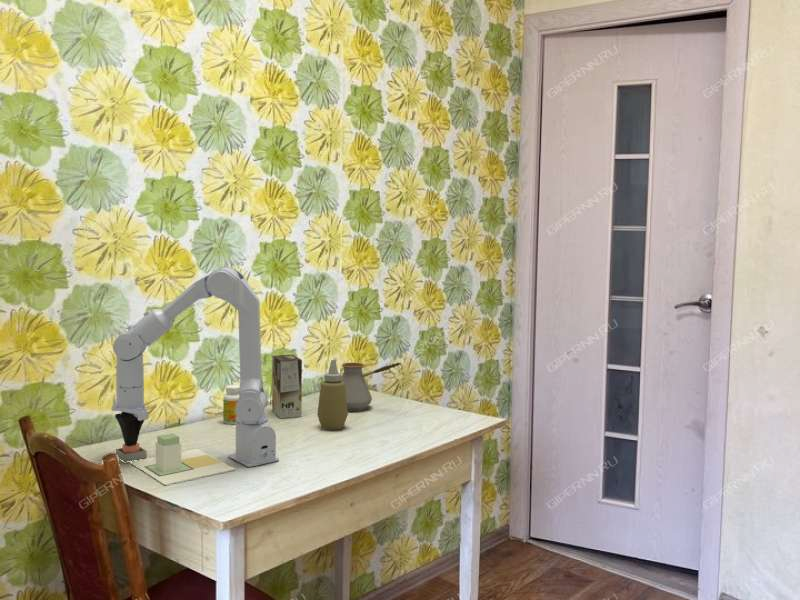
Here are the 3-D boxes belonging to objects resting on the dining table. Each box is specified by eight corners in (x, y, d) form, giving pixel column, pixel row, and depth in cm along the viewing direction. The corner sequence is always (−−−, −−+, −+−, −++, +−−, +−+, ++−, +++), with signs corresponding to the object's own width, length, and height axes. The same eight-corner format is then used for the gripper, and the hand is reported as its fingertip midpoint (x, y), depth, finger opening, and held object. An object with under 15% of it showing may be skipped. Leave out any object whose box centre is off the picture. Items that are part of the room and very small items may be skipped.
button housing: (146, 459, 171) (146, 450, 171) (124, 463, 168) (124, 454, 168) (137, 453, 175) (137, 445, 175) (115, 457, 172) (115, 449, 172)
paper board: (235, 470, 165) (235, 468, 165) (164, 485, 155) (164, 484, 155) (197, 450, 179) (197, 448, 179) (129, 463, 168) (129, 461, 168)
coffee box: (302, 416, 211) (303, 359, 209) (279, 418, 208) (280, 360, 207) (292, 409, 219) (293, 353, 218) (270, 410, 217) (271, 355, 215)
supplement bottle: (219, 422, 203) (218, 386, 202) (232, 418, 208) (232, 383, 207) (234, 425, 200) (234, 389, 199) (248, 421, 205) (248, 385, 204)
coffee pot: (325, 409, 219) (325, 358, 218) (344, 401, 230) (345, 352, 228) (392, 419, 211) (393, 366, 209) (408, 410, 221) (410, 359, 219)
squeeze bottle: (350, 424, 205) (351, 358, 203) (344, 432, 197) (346, 363, 195) (320, 422, 205) (321, 356, 203) (314, 430, 197) (314, 362, 195)
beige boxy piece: (181, 468, 165) (181, 436, 164) (163, 472, 162) (163, 440, 161) (173, 463, 168) (173, 432, 167) (155, 467, 165) (155, 435, 164)
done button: (142, 456, 171) (142, 445, 171) (126, 459, 169) (126, 448, 169) (135, 452, 174) (135, 441, 174) (120, 455, 172) (120, 444, 171)
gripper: (100, 381, 173) (101, 440, 174) (125, 394, 162) (125, 456, 163) (130, 378, 177) (131, 435, 179) (157, 389, 166) (157, 450, 168)
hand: (130, 444), depth 171 cm, fingers closed, pressing on done button
